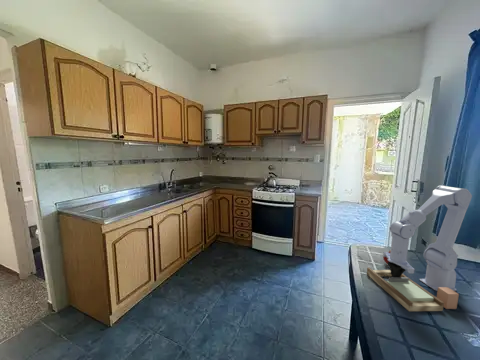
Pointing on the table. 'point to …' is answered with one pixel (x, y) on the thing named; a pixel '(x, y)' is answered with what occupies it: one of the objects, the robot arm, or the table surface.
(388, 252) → the onion
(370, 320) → the table surface
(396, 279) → the lid
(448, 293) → the block
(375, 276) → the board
